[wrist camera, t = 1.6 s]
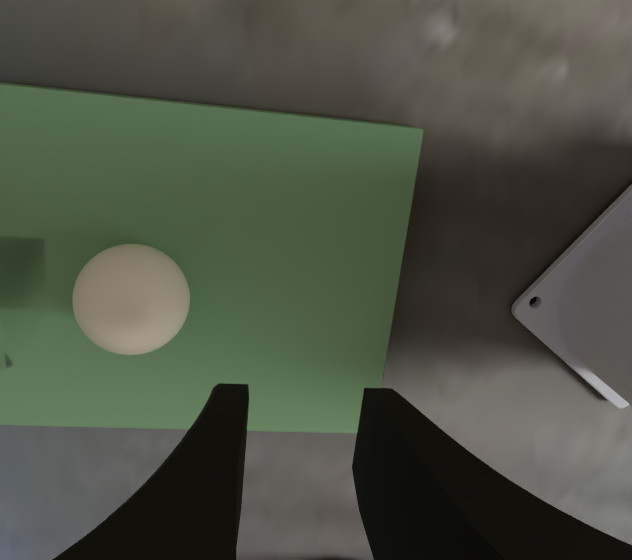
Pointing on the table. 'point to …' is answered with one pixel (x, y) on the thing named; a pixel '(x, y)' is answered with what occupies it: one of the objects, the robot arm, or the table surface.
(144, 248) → the ball
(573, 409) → the table surface
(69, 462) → the table surface
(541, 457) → the table surface
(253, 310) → the green
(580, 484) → the table surface
